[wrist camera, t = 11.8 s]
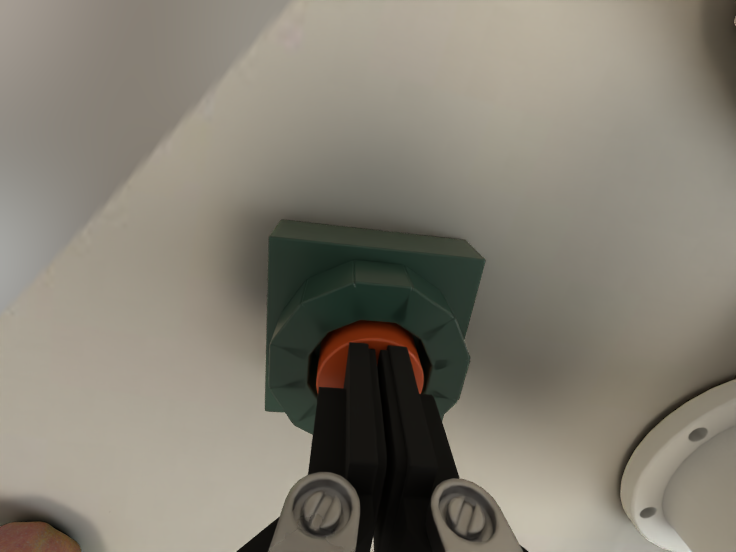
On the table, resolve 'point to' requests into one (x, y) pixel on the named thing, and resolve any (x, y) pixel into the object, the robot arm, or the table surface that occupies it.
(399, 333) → the button
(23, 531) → the apple
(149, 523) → the table surface
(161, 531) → the table surface
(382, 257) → the button box
